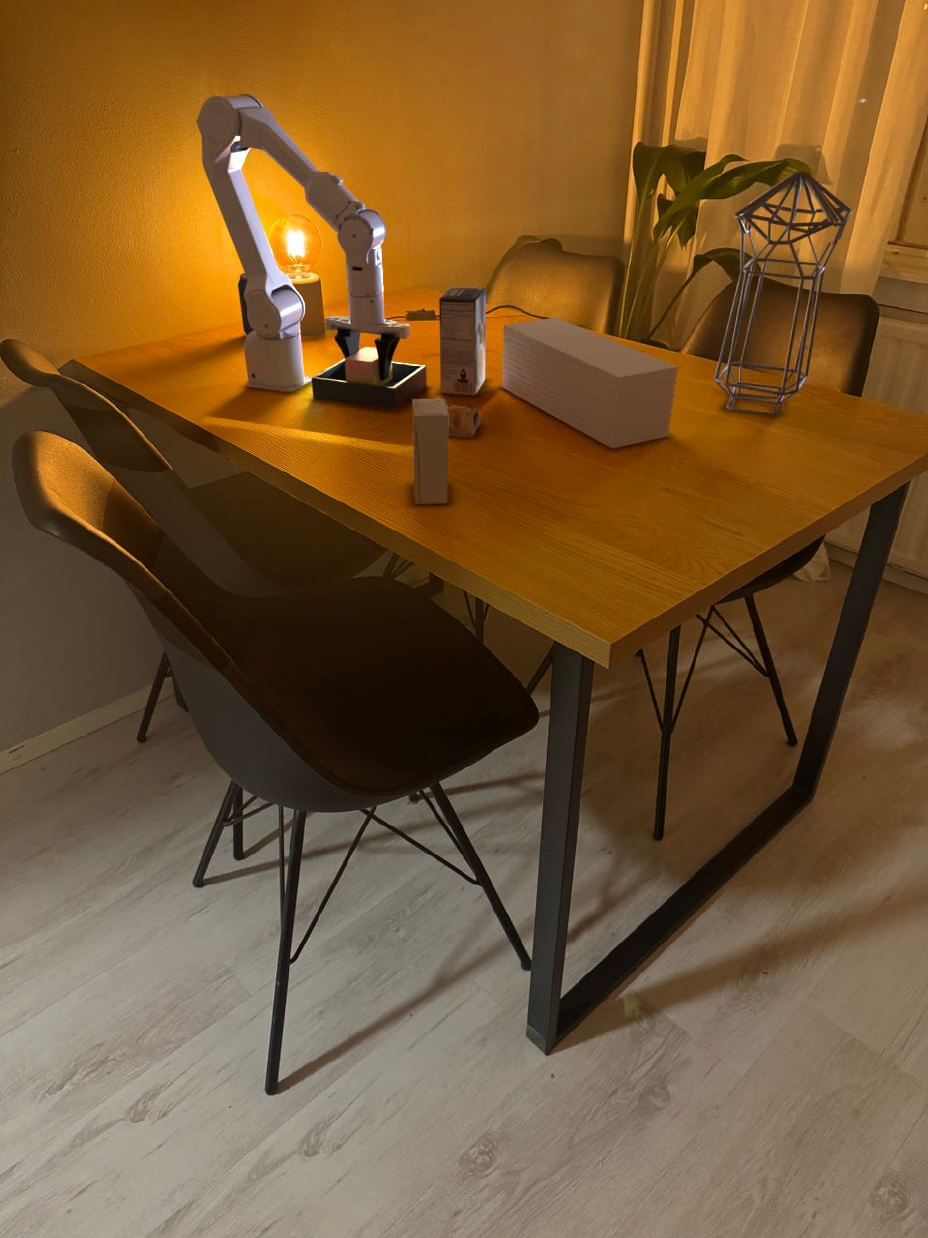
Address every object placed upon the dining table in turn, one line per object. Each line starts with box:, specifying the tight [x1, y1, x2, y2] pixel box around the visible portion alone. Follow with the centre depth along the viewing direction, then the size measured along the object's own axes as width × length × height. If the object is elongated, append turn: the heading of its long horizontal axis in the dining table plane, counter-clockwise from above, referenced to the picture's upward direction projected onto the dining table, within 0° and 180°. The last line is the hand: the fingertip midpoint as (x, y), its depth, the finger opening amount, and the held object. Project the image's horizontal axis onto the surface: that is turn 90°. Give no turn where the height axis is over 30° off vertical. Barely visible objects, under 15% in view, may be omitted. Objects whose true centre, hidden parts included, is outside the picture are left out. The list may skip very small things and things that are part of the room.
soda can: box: [237, 272, 254, 336], centre depth 177 cm, size 7×7×12 cm
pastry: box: [447, 405, 482, 439], centre depth 135 cm, size 9×7×4 cm
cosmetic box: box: [412, 397, 449, 505], centre depth 112 cm, size 6×4×12 cm
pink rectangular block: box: [345, 346, 393, 386], centre depth 148 cm, size 5×8×5 cm, turn 159°
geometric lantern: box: [713, 170, 853, 416], centre depth 136 cm, size 16×16×35 cm
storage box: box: [311, 357, 428, 411], centre depth 149 cm, size 15×13×4 cm
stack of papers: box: [501, 317, 679, 449], centre depth 140 cm, size 32×11×11 cm, turn 29°
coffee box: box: [438, 286, 487, 396], centre depth 149 cm, size 9×6×16 cm
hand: (369, 376), depth 148 cm, fingers closed on pink rectangular block, 5 cm apart
